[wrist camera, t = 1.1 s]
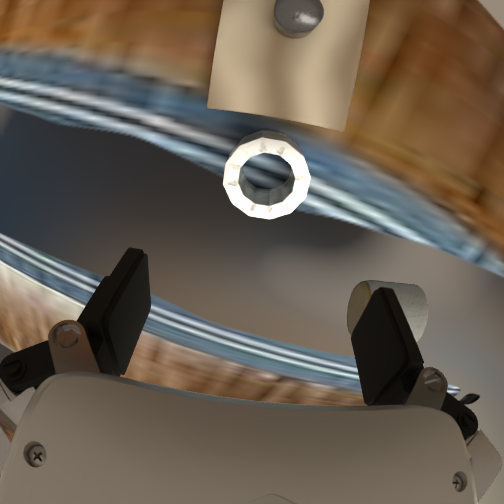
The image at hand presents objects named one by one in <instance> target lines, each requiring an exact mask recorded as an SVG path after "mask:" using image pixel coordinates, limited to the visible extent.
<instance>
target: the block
mask: <svg viewBox="0 0 504 504" xmlns="http://www.w3.org/2000/svg"><path fill="white" fill-rule="evenodd" d="M275 2H276V0H224V2H223V7H222V12H221V18H220V23H219V29H218V35H217V41H216V47H215V53H214V60H213V67H212V74H211V81H210V88H209V95H208V103H207V108H211V109H220V110H229V111H237V112H244V113H251V114H258V115H264V116H270V117H276V118H282V119H287V120H292V121H297V122H302V123H307V124H312V125H316V126H321V127H325V128H329V129H333V130H337V131H341V132H344V130H345V126H346V121H347V117H348V113H349V108H350V104H351V99H352V95H353V90H354V85H355V80H356V75H357V71H358V66H359V60H360V55H361V50H362V44H363V39H364V33H365V27H366V21H367V15H368V9H369V2H370V0H320V2H321V3H322V5H323V9H324V16H323V19H322V21H321V22H320V23H319V24H318V25H317V27H316V28H315V29H314V30H313V31H312V32H311V33H310V34H309V35H308V36H306V37H304V38H300V39H291V38H287V37H285V36H283V35H281V34H280V33H279V32H278V31H277V30H276V28H275V26H274V23H273V15H274V5H275Z"/></svg>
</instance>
